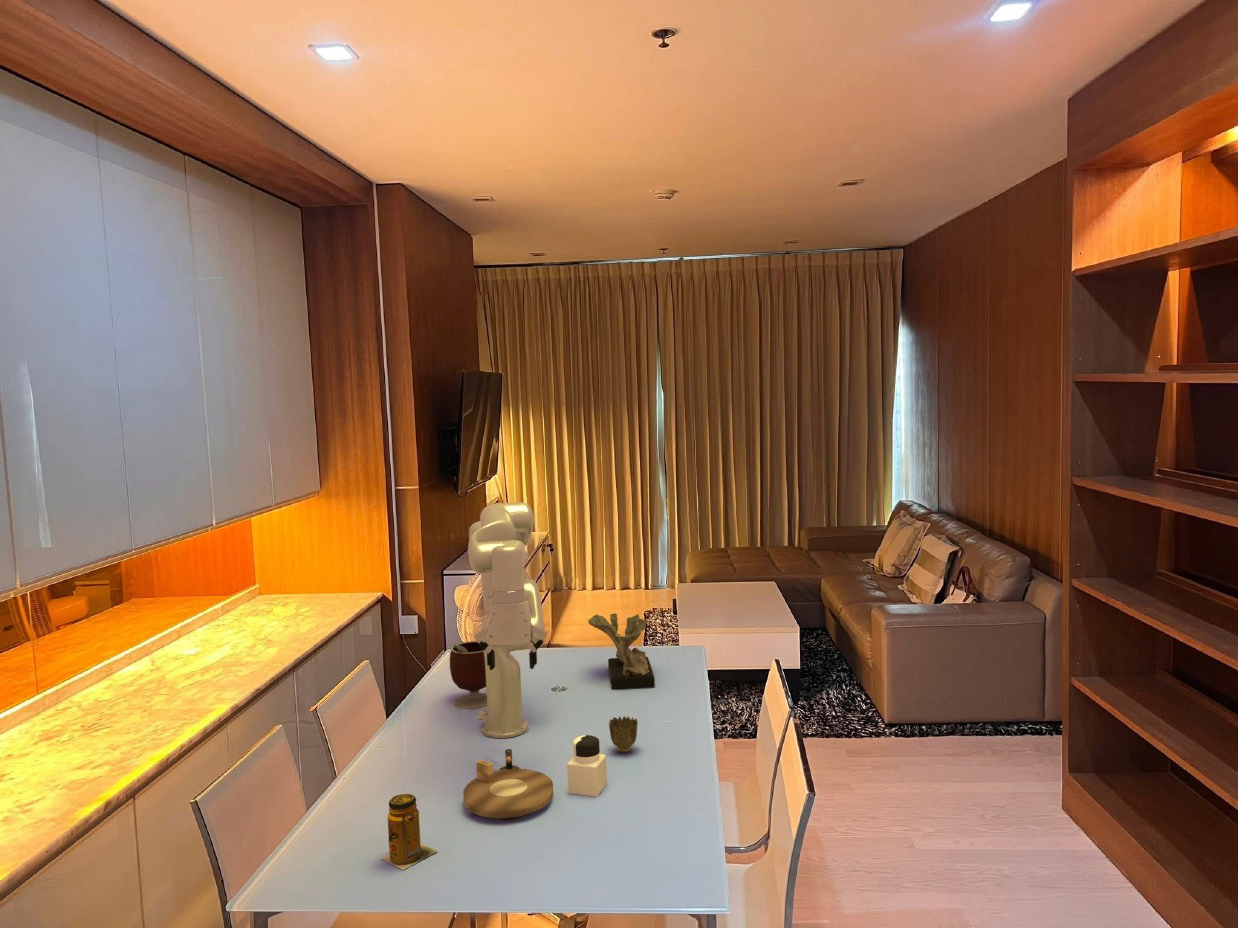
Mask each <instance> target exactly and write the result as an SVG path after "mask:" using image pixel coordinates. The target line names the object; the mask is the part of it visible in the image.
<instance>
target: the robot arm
mask: <svg viewBox="0 0 1238 928" xmlns="http://www.w3.org/2000/svg"><path fill="white" fill-rule="evenodd" d="M534 520H535V518H534V513H533V509H532V508H531V506H530V505H529V504H528V503H526V502H522V501H519V502H500V503H499V502H497V503H492V504H489V505H487V506H485V507H484V508H483V509H482V510H481V512H480V515H479V521H476V522H473V524H472V525H471V526H470V527H469V531H468V538H469V541H468V545H467V553H468V559H469V564H470V567H471V570H472V571H474V572H475V573H478V574H480V578H481V589H482V590H481V591H482V602H483V607H484V609H485V611H486V613H487V614H488V618H487V619H486V620H485V621H484V622H482V624H481V626H480V631H479V632H477V633H475V635H474V639H475V641H477V642H478V643H479V646H480V647H481V648H482V649H483V651H484V658H485V671H486V687H485V689H486V690H485V691H486V694H487V707H486V708H487V709H486V710H485V709H480V710H479V712H478V715H477V720H479V721H484V724H483V726H482V728H481V729H482V733H483V735H484V736H487V737H490V738H493V739H508V738H513V737H517V736H521V735H523V734H524V733H526V732H528V729H529V722H528V721H527V720H525V719H523V702H522V701H523V699H522V697H523V696H522V681H521V679H522V678H521V677H522V675H521V672H522V671H521V666H520V663H519V661H518V660H517V658H516V657H514V655H513V654H512V653H511V652H516V651H525V650H526V651H527V650H529V654H528V655H529V656H528V657H529V669H530V670H534V669H535V666H536V665H537V664H538V653H537V650H538V649H539V648H541V647H542V646H543V645H544V643H545V640H546V638H547V635H548V632H547V631H546V630H545V620H544V614H543V607H542V599H541V592H540V588H539V584H538V583H537V582H536V581H535V580H534V579H531V578H525V570H524V569H525V566H526V564H527V563H528V557H529V553H528V548H527V546H528V545H529V543H530V541H531V538H532V536H533V535H532V534H533V529H534V525H535V524H534V523H535V521H534Z"/></svg>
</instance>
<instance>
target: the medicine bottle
mask: <svg viewBox="0 0 1238 928" xmlns="http://www.w3.org/2000/svg"><path fill="white" fill-rule="evenodd" d="M572 743H573V744H572V745H573V746H572V747H573V757H572V758H571V760H569V761H568V763H567V764H566V767H567V768H566V770H567V771H566V772H567V791H568V794H570V795H571V794H572V795H578V796H579V795H580V796H587V797H595V798H596V797H598V796H599V795H600V794H601V792H602V791H603V789H604V788H605V787H606V786H607V784H608V772H607V771H608V769H607V768H608V767H607V755H606V754H602V753H601V750H600V739H599V738H598V737H596V736H594V735H589V734H586V735H585V734H584V735H581V736H578V737H576V738H575V739H574V740H573V742H572Z"/></svg>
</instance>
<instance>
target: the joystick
mask: <svg viewBox="0 0 1238 928" xmlns="http://www.w3.org/2000/svg"><path fill="white" fill-rule="evenodd" d="M504 753H505V755H504V757H505V765H504V766H502V767H500V768H499V769H498V771H499V770H506V769H521V768H520V767H519V766H517V765H513V749H511V748H507V749H505V751H504Z"/></svg>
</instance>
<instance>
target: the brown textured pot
mask: <svg viewBox="0 0 1238 928" xmlns="http://www.w3.org/2000/svg"><path fill="white" fill-rule="evenodd" d="M638 722H639V721H638V719H637V718H634V717H632V718H630V716H627V717H626V716H625V715H624V716H623V717H621V716H618V717H615V716H614V717H613V718H612V719H611V718H610V719H609V722H608V728H609V733H610V734H609V735H610V739H611V742H612V744H613V745H614V746H615V747H616V751H617V752H618V753H619V754H622V753H625V754H629V753H630V752H631V751H632V746H634V744H635V743H636V740H637V735H638V724H639V723H638ZM628 752H629V753H628Z"/></svg>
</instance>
